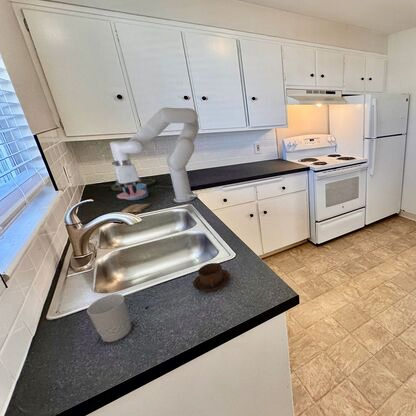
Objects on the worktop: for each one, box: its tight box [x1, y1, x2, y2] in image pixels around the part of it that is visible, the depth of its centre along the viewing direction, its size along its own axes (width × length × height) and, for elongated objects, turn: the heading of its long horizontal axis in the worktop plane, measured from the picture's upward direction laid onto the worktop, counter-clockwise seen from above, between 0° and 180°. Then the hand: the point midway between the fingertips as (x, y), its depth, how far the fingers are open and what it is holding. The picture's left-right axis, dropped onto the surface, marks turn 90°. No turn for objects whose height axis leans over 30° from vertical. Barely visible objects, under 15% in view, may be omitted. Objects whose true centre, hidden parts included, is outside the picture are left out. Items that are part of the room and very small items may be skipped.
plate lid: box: [116, 186, 147, 200], centre depth 161 cm, size 15×15×6 cm
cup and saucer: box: [192, 262, 231, 292], centre depth 94 cm, size 12×12×6 cm
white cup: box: [86, 293, 132, 343], centre depth 73 cm, size 8×8×10 cm
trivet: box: [121, 203, 151, 213], centre depth 165 cm, size 11×11×1 cm
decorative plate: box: [110, 178, 157, 192], centre depth 213 cm, size 30×2×30 cm
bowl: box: [122, 184, 149, 201], centre depth 185 cm, size 14×14×8 cm
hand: (131, 192), depth 161 cm, fingers closed on plate lid, 2 cm apart
